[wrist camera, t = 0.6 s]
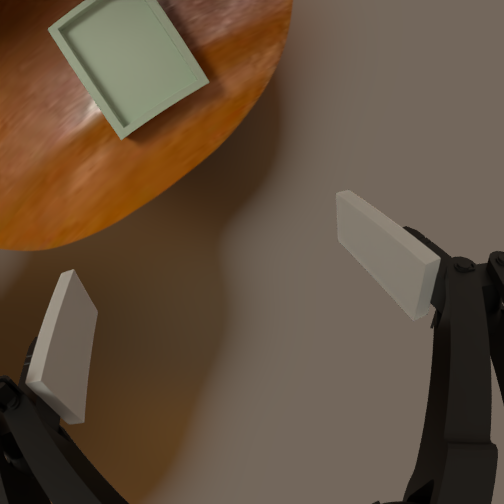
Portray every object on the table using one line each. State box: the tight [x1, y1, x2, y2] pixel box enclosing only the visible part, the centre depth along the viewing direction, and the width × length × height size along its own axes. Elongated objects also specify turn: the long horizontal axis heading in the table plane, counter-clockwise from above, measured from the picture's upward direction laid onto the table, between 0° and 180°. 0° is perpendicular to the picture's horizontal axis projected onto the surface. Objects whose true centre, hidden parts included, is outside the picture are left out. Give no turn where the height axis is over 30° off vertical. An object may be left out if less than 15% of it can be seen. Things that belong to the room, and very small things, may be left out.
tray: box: [48, 0, 210, 140], centre depth 28 cm, size 18×12×3 cm, turn 28°
